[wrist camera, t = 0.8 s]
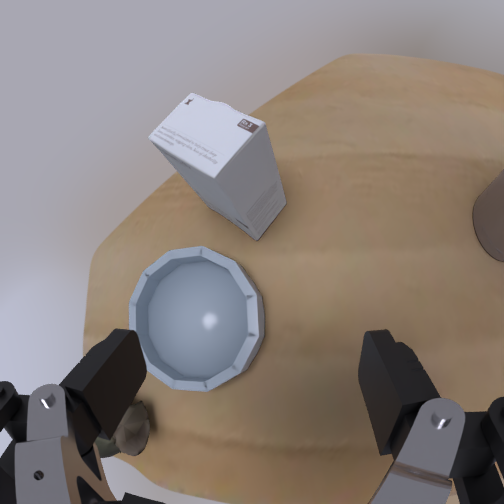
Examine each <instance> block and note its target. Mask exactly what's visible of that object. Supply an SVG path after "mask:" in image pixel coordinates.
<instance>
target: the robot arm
mask: <svg viewBox="0 0 504 504" xmlns="http://www.w3.org/2000/svg"><path fill="white" fill-rule="evenodd" d="M473 221H474V227H475V231H476V234H477V236H478V239H479V241H480V242H481V244H482V246H483V247H484V249H485V250H486V251H487V252H488V253H489V254H490V255H491V256H492V257H494V258H495V259H497V260H499V261H503V262H504V169H503V170H502V172H501V173H500V174H499V175H498V176H497V177H496V178H495V180H494V181H493V182H492V183H491V184H490V185H489V186H488V187H487V188H486V189H485V190H484V192H483V193H482V194H481V195H480V196H479V197H478V198H477V200H476V202H475V205H474V209H473ZM146 373H147V366H146V362H145V358H144V355H143V352H142V348H141V345H140V341H139V337H138V334H137V333H136V331H134V330H126V329H114V330H113V331H112V332H111V334H110V335H109V336H108V337H107V338H106V339H105V340H103V341H101V342H100V343H98V344H96V345H95V346H93V347H92V348H91V349H90V350H89V352H88V353H87V354H86V356H84V357H83V358H82V359H81V361H80V363H78V364H77V365H76V366H75V367H74V368H73V370H72V371H71V372H70V373H69V374H68V375H67V376H66V377H65V379H64V380H63V381H62V382H61V383H60V384H59V385H56V384H47V385H43V386H41V387H39V388H37V389H36V390H35V391H33V393H32V394H31V395H18V393H17V391H16V389H15V388H14V386H13V384H12V383H10V382H8V381H2V382H0V432H1V431H2V429H3V428H5V430H6V431H7V432H8V434H9V435H10V436H11V438H12V439H13V440H12V441H11V443H10V444H9V446H8V447H7V449H6V450H5V452H4V453H3V455H2V456H1V458H0V504H165V503H162V502H158V501H154V500H150V499H146V498H143V497H139V496H136V495H132V494H129V493H126V492H125V495H124V497H123V499H122V501H117V500H116V499H115V497H114V495H113V494H112V492H111V490H110V488H109V486H108V483H107V480H106V477H105V474H104V470H103V467H102V463H101V459H100V455H99V451H98V448H97V445H96V444H95V440H96V438H97V437H99V438H102V439H106V440H109V441H110V440H111V438H112V436H113V434H114V433H115V431H116V429H117V427H118V425H119V424H120V422H121V420H122V418H123V417H124V415H125V413H126V411H127V410H128V408H129V406H130V404H131V403H132V401H133V399H134V397H135V396H136V394H137V392H138V390H139V389H140V387H141V385H142V383H143V382H144V380H145V378H146ZM358 377H359V384H360V387H361V390H362V394H363V397H364V400H365V403H366V407H367V410H368V414H369V417H370V420H371V424H372V427H373V431H374V435H375V438H376V442H377V446H378V449H379V453H380V456H381V455H387V454H391V453H392V456H393V459H394V461H393V463H392V465H391V466H390V468H389V470H388V472H387V473H386V475H385V477H384V479H383V480H382V482H381V484H380V485H379V487H378V488H377V490H376V492H375V493H374V495H373V496H372V498H371V499H370V501H369V502H368V504H445V503H446V501H447V499H448V496H449V494H450V491H451V487H452V481H451V480H448V478H453V481H454V484H455V488H456V491H457V495H458V498H459V502H460V504H504V487H503V484H502V481H501V479H500V476H499V473H498V471H497V468H496V466H495V464H494V463H495V462H496V461H497V464H498V466H499V469H500V471H501V474H502V476H503V479H504V397H500V398H498V399H496V400H494V401H493V402H492V404H491V405H490V407H489V409H488V411H485V412H464V411H463V409H462V408H461V406H460V405H458V404H457V403H456V402H454V401H452V400H449V399H445V398H441V397H440V395H439V393H438V392H437V390H436V388H435V386H434V385H433V383H432V381H431V379H430V378H429V376H428V374H427V373H426V371H425V369H424V370H423V366H422V364H421V363H420V361H418V358H417V356H416V355H415V353H414V352H413V350H412V349H411V348H409V347H408V346H407V345H405V344H404V343H402V342H397V343H396V342H395V340H394V339H393V337H392V335H391V334H390V332H389V330H387V329H385V330H374V331H366V333H365V335H364V340H363V346H362V352H361V357H360V363H359V370H358Z"/></svg>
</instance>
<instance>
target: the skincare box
mask: <svg viewBox="0 0 504 504" xmlns="http://www.w3.org/2000/svg"><path fill="white" fill-rule="evenodd" d="M148 139H149V140H150V141H151V142H152V143H153V144H154V145H155V146H156V147H157V148H158V149H159V150H160V151H161V153H162V154H163V155H164V156H165V157H166V158H167V160H168V161H169V162H170V163H171V164H172V165H173V167H174V168H175V169H176V170H177V171H178V172H179V174H180V175H181V176H182V177H183V178H184V179H185V181H186V182H187V183H188V184H189V185H190V186H191V187H192V189H193V190H194V191H195V192H196V193H197V194H198V195H199V197H200V198H201V199H202V200H203V201H204V202H205V204H206V205H207V206H208V207H209V208H211V209H212V210H214V211H216V212H218V213H219V214H221V215H222V216H224V217H225V218H227V219H228V220H230V221H231V222H232V223H234V224H235V225H237V226H238V227H239V228H241V229H242V230H243V231H245V232H246V233H247V234H248V235H249V236H251V237H252V238H253V239H254V240H256V241H258V239H259V238H260V237H261V235H262V234H263V233H264V232H265V230H266V229H267V228H268V226H269V225H270V224H271V223H272V221H273V220H274V219H275V218H276V216H277V215H278V214H279V212H280V211H281V210H282V209H283V207H284V206H285V205H286V203H287V202H286V198H285V194H284V191H283V187H282V183H281V179H280V175H279V172H278V168H277V164H276V160H275V157H274V153H273V150H272V146H271V142H270V138H269V135H268V131H267V128H266V124H265V122H263V121H261V120H258V119H256V118H254V117H251V116H249V115H246V114H243V113H241V112H239V111H236V110H234V109H233V108H232V107H230V106H229V105H227V104H226V103H223V102H215V101H211V100H209V99H206V98H204V97H202V96H200V95H198V94H195V93H191V94H189V95H188V96H187V97H186V98H185V99H184V100H183V101H182V102H181V103H180V104H179V105H178V106H177V108H175V109H174V110H173V111H172V112H171V114H170V115H169V116H168V117H167V118H166V119H165V120H164V121H163V122H162V123H161V124H160V125H159V126H158V127H157V128H156V129H155V130H154V131H153V132H152V134H151V135H150V136H149V137H148Z"/></svg>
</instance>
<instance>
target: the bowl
mask: <svg viewBox="0 0 504 504" xmlns="http://www.w3.org/2000/svg"><path fill="white" fill-rule="evenodd" d="M264 329H265V312H264V306H263V301H262V296H261V294H260V293H259V291H258V289H257V287H256V286H255V284H254V282H253V281H252V280H251V278H250V277H249V276H248V275H247V273H246V272H245V270H244V269H243V267H242V266H241V265H240V264H238V263H237V262H235V261H234V260H232V259H229V258H227V257H225V256H223V255H221V254H219V253H216V252H214V251H212V250H210V249H208V248H206V247H204V246H198V247H191V248H184V249H177V250H169V251H168V252H167V253H166V254H164V255H163V256H162V257H160V258H159V259H158V260H157V261H155V262H154V263H153V264H152V265H150V266H149V267H148V268H147V269H145V270H144V271H143V273H142V275H141V277H140V279H139V281H138V284H137V286H136V288H135V290H134V292H133V295H132V297H131V299H130V301H129V330H134V331H136V333H137V334H138V337H139V341H140V345H141V348H142V352H143V355H144V358H145V362H146V366H147V371H149V372H150V373H151V374H153V375H154V376H155V377H157V378H158V379H159V380H161V381H162V382H164V383H165V384H166V385H168V386H169V387H171V388H172V389H179V390H191V391H206V392H208V391H210V390H212V389H214V388H216V387H218V386H220V385H222V384H223V383H225V382H227V381H229V380H230V379H232V378H234V377H236V376H237V375H239V374H241V373H242V372H244V371H246V370H247V369H248V367H249V365H250V363H251V362H252V361H253V359H254V358H255V356H256V354H257V353H258V350H259V348H260V346H261V343H262V340H263V338H264Z"/></svg>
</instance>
